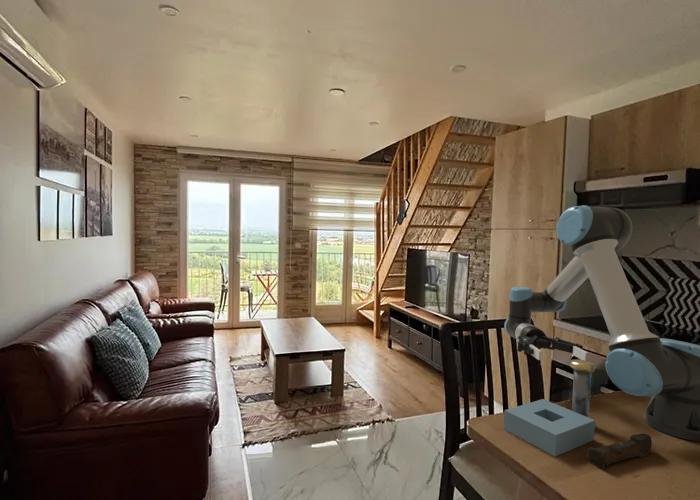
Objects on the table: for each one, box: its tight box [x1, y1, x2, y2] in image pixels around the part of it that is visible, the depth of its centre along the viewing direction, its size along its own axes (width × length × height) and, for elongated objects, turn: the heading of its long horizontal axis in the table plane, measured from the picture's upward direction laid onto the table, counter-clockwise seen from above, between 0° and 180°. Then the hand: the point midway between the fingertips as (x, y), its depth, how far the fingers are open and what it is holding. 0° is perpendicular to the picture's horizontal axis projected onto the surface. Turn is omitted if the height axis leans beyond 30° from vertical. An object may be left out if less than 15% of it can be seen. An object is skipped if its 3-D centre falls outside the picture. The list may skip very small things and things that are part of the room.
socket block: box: [503, 398, 596, 457], centre depth 99 cm, size 14×16×5 cm
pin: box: [570, 359, 596, 418], centre depth 106 cm, size 6×6×16 cm
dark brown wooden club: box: [587, 433, 653, 469], centre depth 89 cm, size 19×4×5 cm, turn 109°
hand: (563, 356), depth 115 cm, fingers open, 13 cm apart
